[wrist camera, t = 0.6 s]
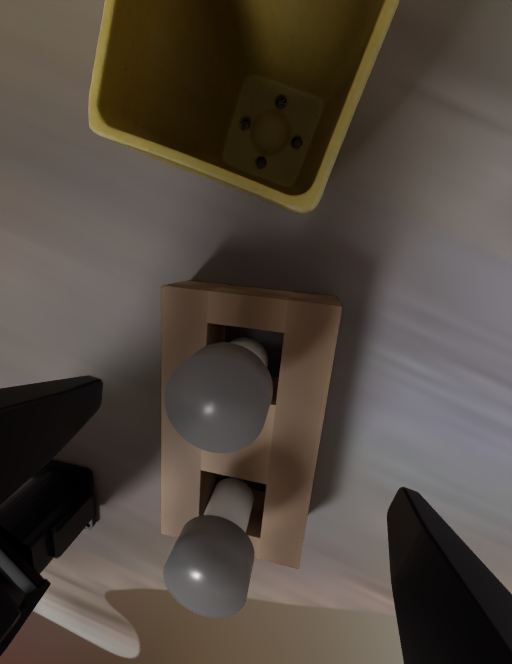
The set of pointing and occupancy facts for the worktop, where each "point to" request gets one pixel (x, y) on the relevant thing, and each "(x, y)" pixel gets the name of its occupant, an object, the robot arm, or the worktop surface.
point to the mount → (282, 419)
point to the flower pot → (237, 86)
